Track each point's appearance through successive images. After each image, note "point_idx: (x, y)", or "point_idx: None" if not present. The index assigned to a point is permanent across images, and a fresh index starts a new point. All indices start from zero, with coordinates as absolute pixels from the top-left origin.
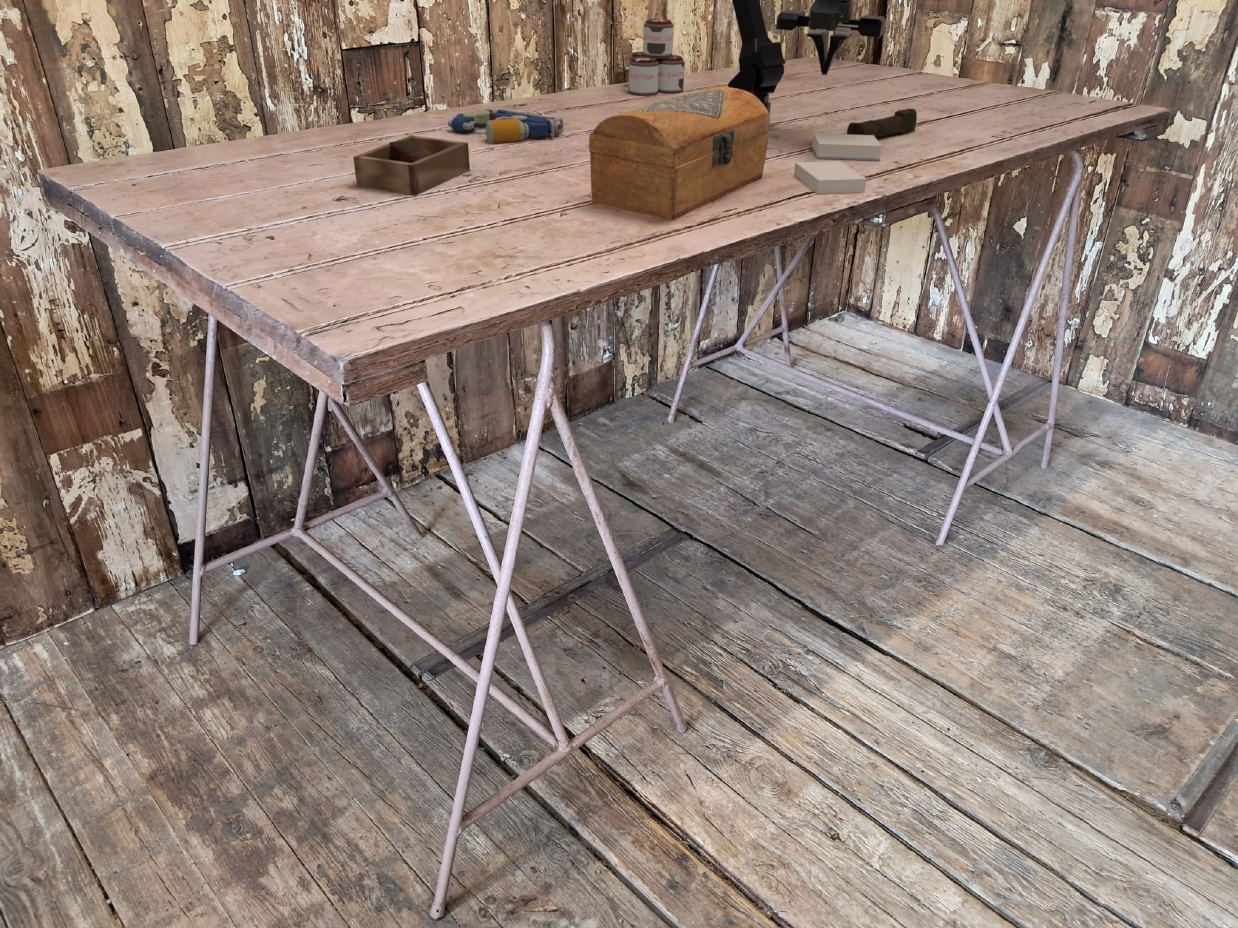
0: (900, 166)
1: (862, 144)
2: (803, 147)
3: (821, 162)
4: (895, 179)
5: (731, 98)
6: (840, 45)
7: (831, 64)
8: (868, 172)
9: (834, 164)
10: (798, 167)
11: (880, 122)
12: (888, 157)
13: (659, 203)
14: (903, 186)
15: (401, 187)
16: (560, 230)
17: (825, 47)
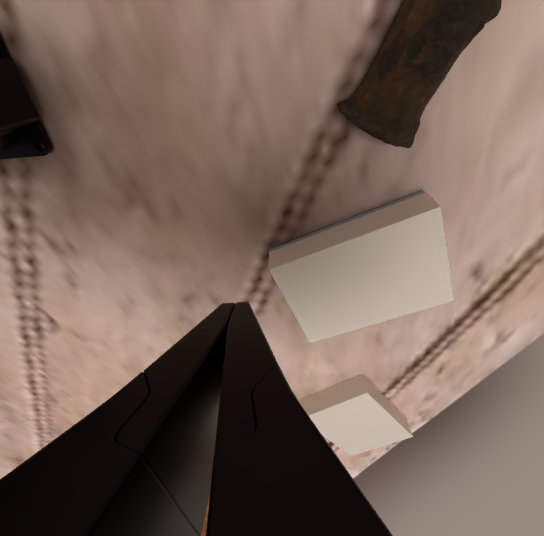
0: (482, 293)
1: (406, 309)
2: (248, 252)
3: (338, 407)
4: (458, 362)
5: None
6: (315, 448)
7: (260, 331)
8: (412, 349)
9: (360, 407)
10: None
11: (493, 1)
12: (464, 238)
13: None
14: (466, 383)
15: None
16: None
17: (192, 487)
